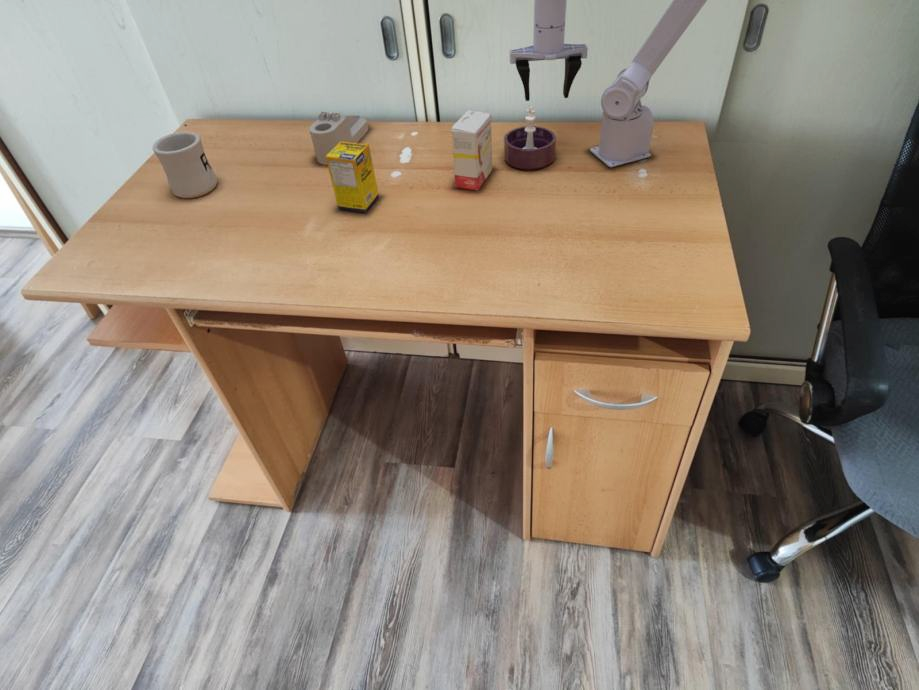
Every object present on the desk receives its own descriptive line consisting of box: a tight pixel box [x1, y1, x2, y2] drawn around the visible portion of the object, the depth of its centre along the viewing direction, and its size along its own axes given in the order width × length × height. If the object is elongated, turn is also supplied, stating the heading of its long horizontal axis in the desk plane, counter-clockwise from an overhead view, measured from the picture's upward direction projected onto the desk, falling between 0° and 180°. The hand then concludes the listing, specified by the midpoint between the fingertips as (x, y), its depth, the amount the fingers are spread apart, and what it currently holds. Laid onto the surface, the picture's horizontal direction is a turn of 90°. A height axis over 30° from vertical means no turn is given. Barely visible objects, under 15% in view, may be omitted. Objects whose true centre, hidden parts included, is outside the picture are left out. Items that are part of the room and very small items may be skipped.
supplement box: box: [326, 141, 380, 214], centre depth 107 cm, size 6×6×11 cm
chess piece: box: [522, 106, 536, 149], centre depth 115 cm, size 5×5×10 cm
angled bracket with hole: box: [309, 111, 369, 166], centre depth 126 cm, size 6×18×8 cm, turn 162°
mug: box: [152, 131, 218, 199], centre depth 117 cm, size 12×9×10 cm
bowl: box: [503, 125, 557, 171], centre depth 117 cm, size 10×10×4 cm
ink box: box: [451, 109, 493, 192], centre depth 111 cm, size 9×5×12 cm, turn 157°
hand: (546, 97), depth 117 cm, fingers open, 7 cm apart
